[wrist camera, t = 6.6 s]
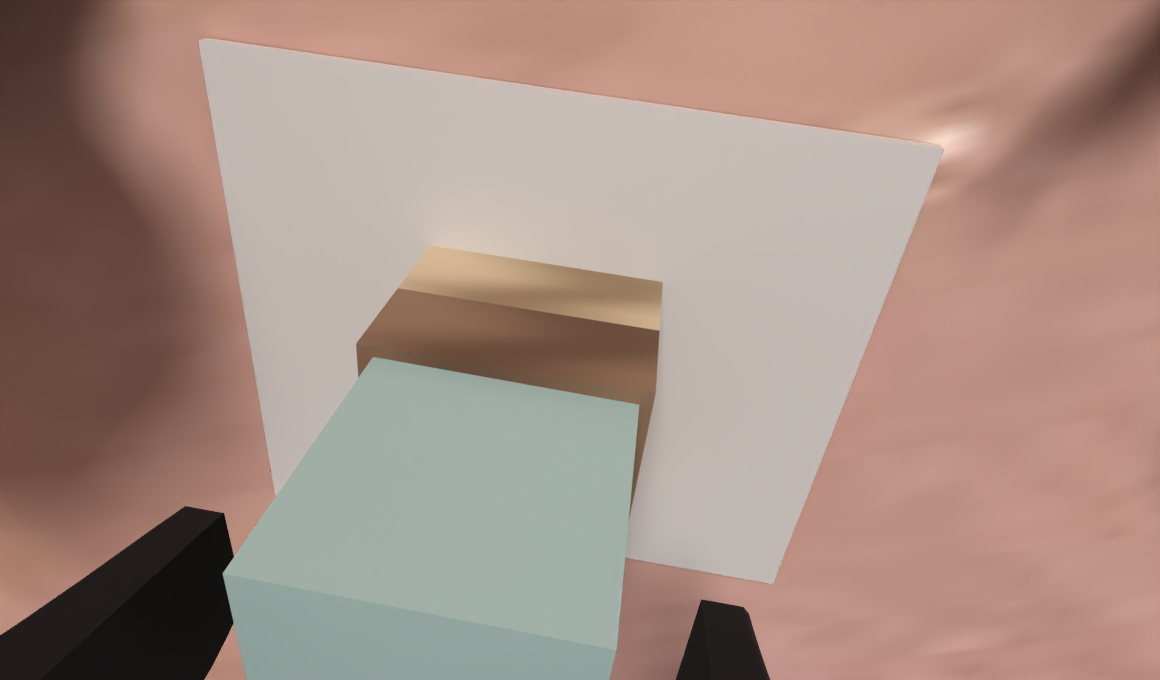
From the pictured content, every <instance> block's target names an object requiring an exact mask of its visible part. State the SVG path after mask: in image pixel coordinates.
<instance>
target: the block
mask: <svg viewBox="0 0 1160 680" xmlns="http://www.w3.org/2000/svg"><path fill="white" fill-rule="evenodd" d="M638 416H639V405H638V404H633V403H627V402H621V401H616V400H610V399H605V398H599V397H594V396H588V395H582V394H577V393H571V392H566V391H560V390H555V389H549V388H543V387H538V386H532V385H527V384H521V383H516V382H510V381H504V380H499V379H493V378H488V377H482V376H477V375H471V374H465V373H460V372H454V371H449V370H443V369H438V368H432V367H426V366H421V365H415V364H410V363H404V362H399V361H393V360H387V359H382V358H376V357H373V358H372V359H371V360H370V362H369V363H368V365H367V366H366V368H365V369H364V371H363V372H362V373H361V375H360V376H359V378H358V379H357V381H356V382H355V383H354V385H353V386H352V388H351V389H350V391H349V392H348V394H347V395H346V396H345V398H344V399H343V401H342V402H341V404H340V405H339V407H338V408H337V409H336V411H335V412H334V414H333V415H332V417H331V418H330V419H329V421H328V422H327V424H326V425H325V427H324V428H323V430H322V431H321V432H320V434H319V435H318V437H317V438H316V440H315V441H314V443H313V444H312V445H311V447H310V448H309V450H308V451H307V453H306V454H305V455H304V457H303V458H302V460H301V461H300V463H299V464H298V466H297V467H296V468H295V470H294V471H293V473H292V474H291V476H290V477H289V479H288V480H287V481H286V483H285V484H284V486H283V487H282V489H281V490H280V491H279V493H278V494H277V496H276V497H275V499H274V500H273V502H272V503H271V504H270V506H269V507H268V509H267V510H266V512H265V513H264V515H263V516H262V517H261V519H260V520H259V522H258V523H257V525H256V526H255V528H254V529H253V530H252V532H251V533H250V535H249V536H248V538H247V539H246V540H245V542H244V543H243V545H242V546H241V548H240V549H239V551H238V552H237V553H236V555H235V556H234V558H233V559H232V561H231V562H230V564H229V565H228V566H227V568H226V569H225V571H224V572H223V578H224V582H225V586H226V591H227V595H228V600H229V604H230V609H231V613H232V618H233V622H234V626H235V631H236V635H237V640H238V644H239V649H240V653H241V657H242V662H243V666H244V671H245V675H246V680H609V678H610V674H611V670H612V666H613V662H614V659H615V655H616V651H617V641H618V630H619V620H620V609H621V598H622V587H623V577H624V566H625V555H626V544H627V534H628V523H629V512H630V502H631V491H632V480H633V469H634V459H635V448H636V437H637V426H638Z"/></svg>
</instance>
